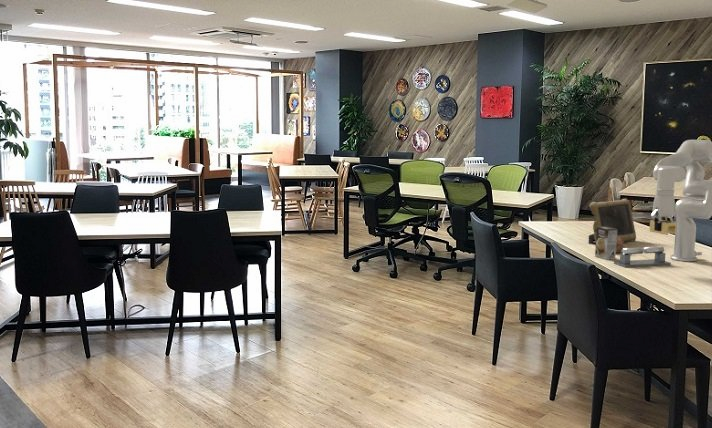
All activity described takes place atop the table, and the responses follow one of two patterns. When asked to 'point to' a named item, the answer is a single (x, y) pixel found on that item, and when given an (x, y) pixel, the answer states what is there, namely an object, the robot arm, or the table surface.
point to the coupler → (664, 227)
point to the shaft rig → (657, 261)
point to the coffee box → (606, 243)
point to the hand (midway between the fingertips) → (662, 230)
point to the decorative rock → (619, 244)
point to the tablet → (613, 218)
